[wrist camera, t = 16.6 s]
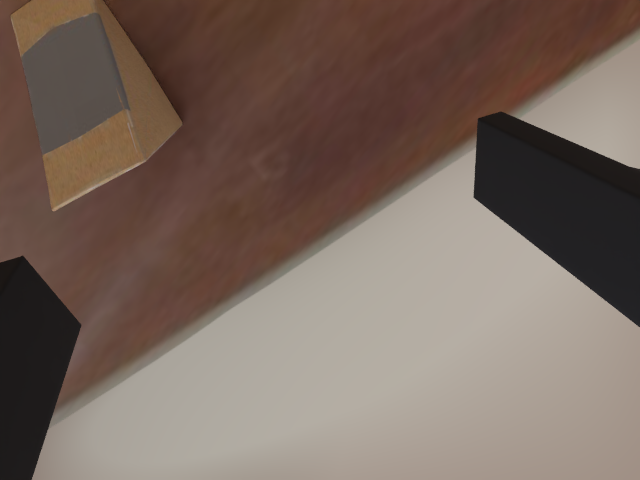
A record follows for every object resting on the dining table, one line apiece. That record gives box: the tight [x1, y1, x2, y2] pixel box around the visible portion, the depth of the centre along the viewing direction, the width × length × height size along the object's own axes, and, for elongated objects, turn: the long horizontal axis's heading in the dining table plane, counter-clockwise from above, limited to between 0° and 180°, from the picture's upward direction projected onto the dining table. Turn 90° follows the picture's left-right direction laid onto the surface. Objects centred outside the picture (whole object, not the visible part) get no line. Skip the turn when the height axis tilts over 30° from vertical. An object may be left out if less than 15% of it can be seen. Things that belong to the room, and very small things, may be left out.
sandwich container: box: [11, 0, 183, 211], centre depth 32 cm, size 9×15×15 cm, turn 26°
